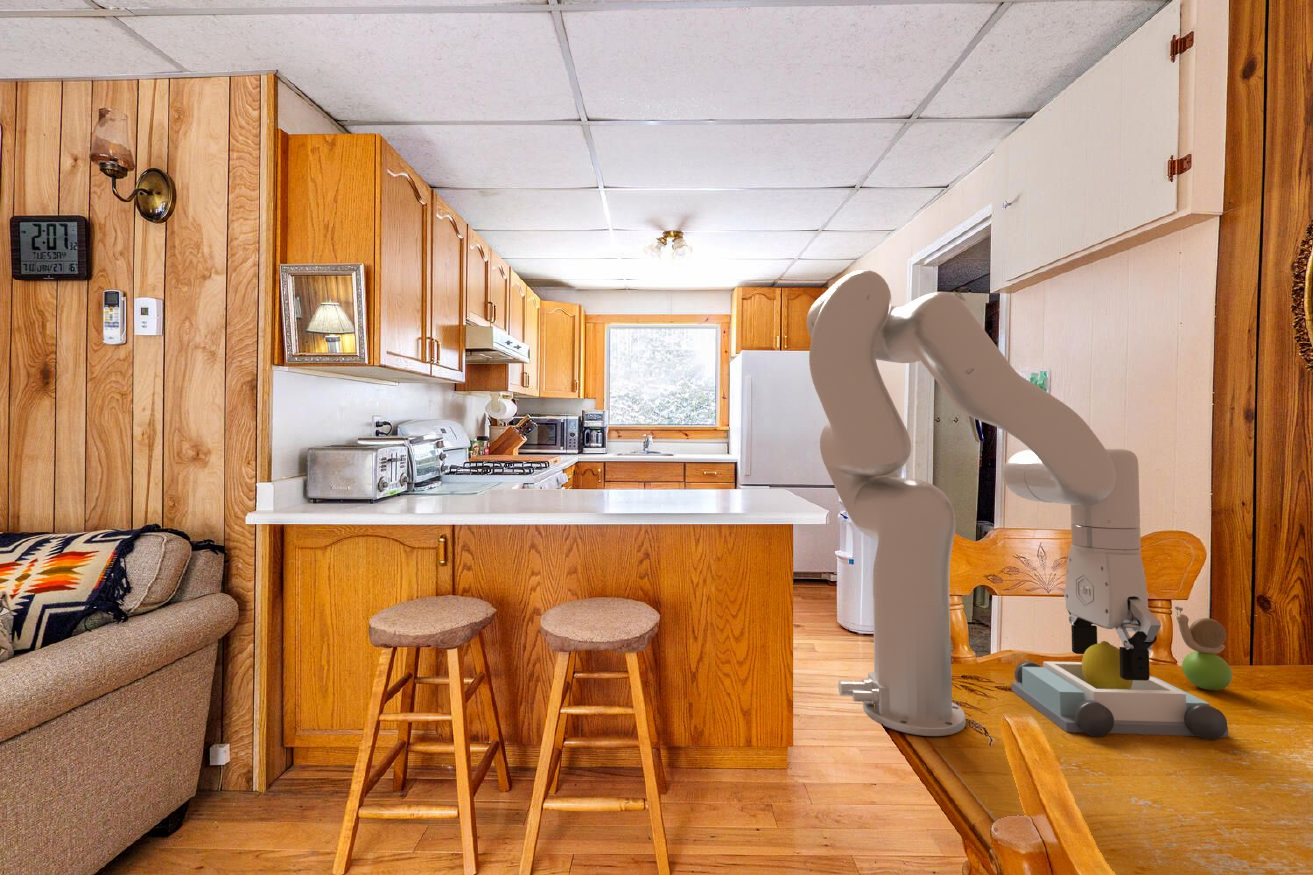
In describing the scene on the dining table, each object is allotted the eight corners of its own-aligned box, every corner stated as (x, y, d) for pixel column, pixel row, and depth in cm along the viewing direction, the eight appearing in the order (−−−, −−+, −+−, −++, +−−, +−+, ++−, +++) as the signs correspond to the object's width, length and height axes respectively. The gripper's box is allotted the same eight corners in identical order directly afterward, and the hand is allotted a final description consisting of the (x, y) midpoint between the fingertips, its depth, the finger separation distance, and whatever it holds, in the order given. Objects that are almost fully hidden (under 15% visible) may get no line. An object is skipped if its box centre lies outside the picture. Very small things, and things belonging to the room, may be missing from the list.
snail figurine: (1166, 680, 90) (1163, 602, 90) (1213, 682, 89) (1210, 603, 89) (1193, 695, 84) (1190, 611, 85) (1243, 697, 83) (1240, 612, 84)
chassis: (1071, 735, 72) (1070, 697, 72) (1007, 687, 87) (1007, 655, 88) (1236, 741, 71) (1235, 701, 71) (1142, 690, 86) (1141, 658, 86)
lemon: (1144, 710, 76) (1140, 647, 77) (1096, 707, 77) (1092, 645, 78) (1119, 695, 82) (1116, 637, 82) (1075, 692, 83) (1072, 634, 83)
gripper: (1039, 530, 89) (1042, 644, 88) (1121, 548, 72) (1124, 690, 71) (1091, 531, 88) (1094, 645, 88) (1186, 549, 71) (1190, 692, 70)
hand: (1108, 665), depth 79 cm, fingers open, 9 cm apart
